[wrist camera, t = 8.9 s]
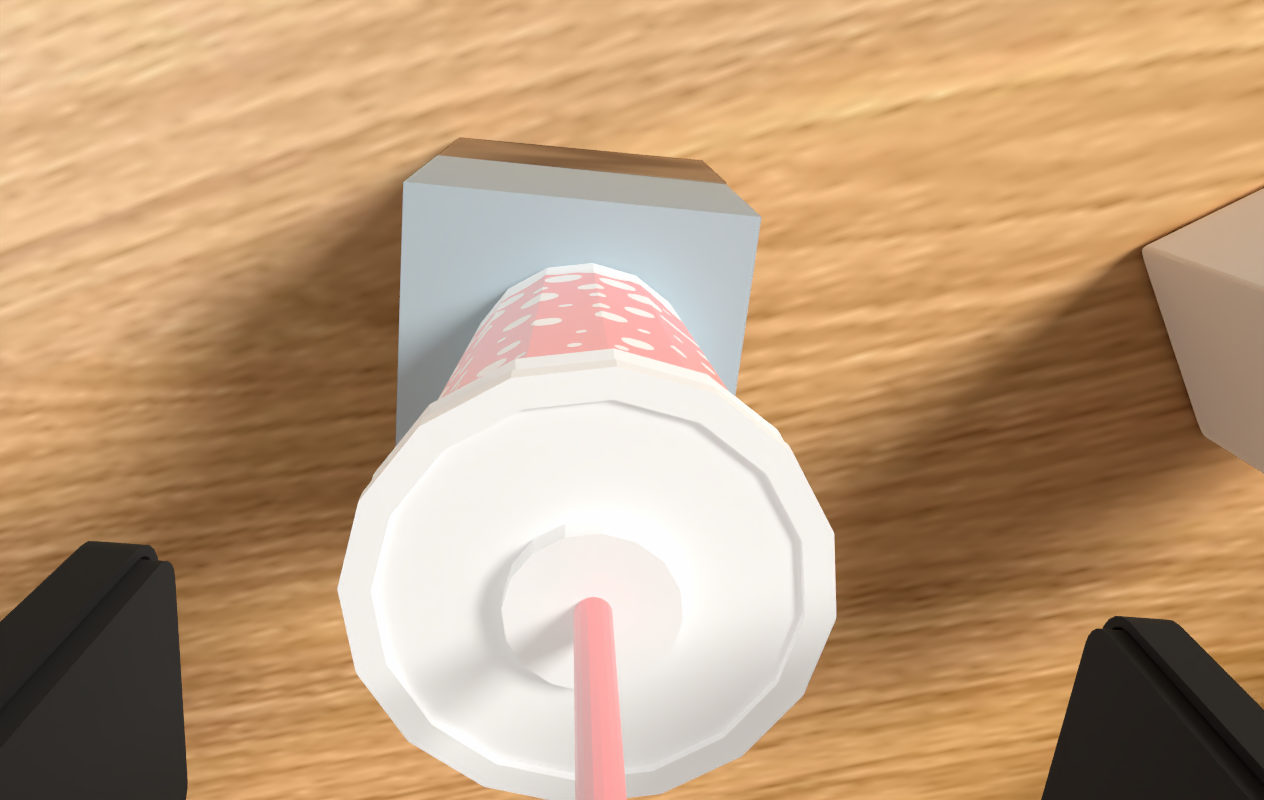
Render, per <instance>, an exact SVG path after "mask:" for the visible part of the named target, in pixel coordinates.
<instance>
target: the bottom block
mask: <svg viewBox="0 0 1264 800" xmlns="http://www.w3.org/2000/svg"><path fill="white" fill-rule="evenodd" d="M439 155H441V156H451V157H461V158H470V159H480V160H490V161H500V162H510V163H520V164H530V165H540V166H550V167H560V168H570V169H579V170H589V171H599V172H609V173H619V174H629V175H639V176H649V177H659V178H669V179H679V180H689V181H699V182H708V183H718V184H726V182H725V181H724V180H723V179H722V178H721V177H720V176H719V175H718V174H717V173H715V172H714V171H713V170H712V169H711V168H710V167H709V166H708V165H707V164H706V163H704V162H703V161H702V160H691V159H681V158H670V157H660V156H649V155H639V154H628V153H618V152H607V151H597V150H586V149H576V148H565V147H555V146H544V145H534V144H523V143H513V142H502V141H492V140H481V139H471V138H459V139H458V140H456V141H455V142H454V143H453V144H451V145H450V146H449V147H447V148H446V149H445V150H444V151H442V152H441V153H440V154H439Z"/></svg>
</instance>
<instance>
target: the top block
mask: <svg viewBox="0 0 1264 800" xmlns="http://www.w3.org/2000/svg"><path fill="white" fill-rule="evenodd" d="M760 223H761V216H760V215H759V214H758V213H756V212H755V211H754V210H753V209H752V208H751V207H750V206H749V205H748V204H747V203H746V202H745V201H744V200H742V199H741V198H740V197H739V196H738V195H737V194H736V193H735V192H734V191H733V190H732V189H731V188H729V187H728V186H727V185H726V184H718V183H708V182H699V181H689V180H679V179H669V178H659V177H649V176H639V175H629V174H619V173H609V172H599V171H589V170H579V169H570V168H560V167H550V166H540V165H530V164H520V163H510V162H500V161H490V160H480V159H470V158H461V157H451V156H441V155H437V156H436V157H435V158H433V159H432V160H431V161H429V162H428V163H427V164H426V165H424V166H423V167H422V168H420V169H419V170H418V171H417V172H415V173H414V174H413V175H411V176H410V177H409V178H408V179H406V180H405V181H404V182H403V210H402V243H401V277H400V311H399V345H398V379H397V412H396V446H397V444H398V443H399V442H400V441H401V439H402V438H403V437H404V436H405V434H406V433H407V432H408V431H409V429H410V428H411V427H412V426H413V425H414V423H415V422H416V421H417V420H418V418H419V417H420V416H421V415H422V413H423V412H424V411H425V410H426V408H427V407H428V406H429V405H430V404H431V403H433V402H435V401H437V400H438V399H439V397H440V395H441V393H442V392H443V390H444V388H445V386H446V384H447V383H448V381H449V379H450V377H451V376H452V374H453V372H454V370H455V368H456V367H457V365H458V363H459V361H460V360H461V358H462V356H463V354H464V352H465V351H466V349H467V347H468V345H469V343H470V342H471V340H472V338H473V336H474V335H475V333H476V331H477V329H478V327H479V326H480V324H481V322H482V321H483V320H484V319H485V317H486V316H487V315H488V314H489V312H490V311H491V310H492V309H493V307H494V306H495V305H496V304H497V302H498V301H499V300H500V299H501V297H502V296H503V295H504V294H505V292H506V291H507V290H508V289H509V288H511V287H513V286H515V285H516V284H518V283H520V282H522V281H524V280H526V279H527V278H529V277H531V276H533V275H535V274H537V273H539V272H540V271H542V270H544V269H546V268H549V267H559V266H568V265H578V264H588V263H594V264H598V265H601V266H605V267H608V268H611V269H615V270H618V271H622V272H625V273H629V274H632V275H636V276H637V277H638V278H639V279H641V280H642V281H643V282H644V283H645V284H647V285H648V286H649V287H650V288H652V289H653V290H654V291H655V292H657V293H658V294H659V295H660V296H662V297H663V298H664V299H665V300H667V301H668V302H669V303H670V304H671V306H672V307H673V309H674V310H675V312H676V313H677V315H678V316H679V318H680V319H681V321H682V322H683V324H684V325H685V327H686V328H687V330H688V331H689V333H690V334H691V336H692V337H693V339H694V340H695V342H696V343H697V345H698V346H699V348H700V349H701V351H702V352H703V354H704V355H705V357H706V358H707V360H708V361H709V363H710V364H711V366H712V367H713V369H714V370H715V372H716V373H717V375H718V376H719V378H720V379H721V381H722V382H723V384H724V385H725V387H726V388H727V390H728V391H729V392H730V393H731V394H733V395H734V396H735V393H736V386H737V380H738V373H739V366H740V359H741V352H742V346H743V339H744V332H745V325H746V318H747V311H748V305H749V298H750V291H751V284H752V277H753V271H754V264H755V257H756V250H757V243H758V237H759V230H760ZM396 446H395V447H396Z"/></svg>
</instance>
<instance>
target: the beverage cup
mask: <svg viewBox="0 0 1264 800" xmlns="http://www.w3.org/2000/svg"><path fill="white" fill-rule="evenodd" d="M337 590H338V594H339V599H340V603H341V608H342V612H343V617H344V621H345V626H346V630H347V635H348V639H349V644H350V648H351V652H352V657H353V661H354V666H355V670H356V673H357V675H358V676H359V677H360V679H361V680H362V681H363V683H364V684H365V685H366V687H367V688H368V689H369V691H370V692H371V693H372V694H373V696H374V697H375V698H376V700H377V701H378V702H379V704H380V705H381V706H382V708H383V709H384V710H385V712H386V713H387V714H388V716H389V717H390V718H391V719H392V721H393V722H394V723H395V725H396V726H397V727H398V729H399V730H400V731H401V733H402V734H403V735H404V737H405V738H406V739H407V740H408V742H410V743H412V744H413V745H415V746H417V747H418V748H420V749H422V750H423V751H425V752H427V753H428V754H430V755H432V756H433V757H435V758H437V759H438V760H440V761H442V762H443V763H445V764H447V765H448V766H450V767H452V768H453V769H455V770H457V771H458V772H460V773H462V774H464V775H465V776H467V777H469V778H470V779H472V780H474V781H475V782H477V783H479V784H480V785H482V786H484V787H488V788H493V789H498V790H503V791H508V792H513V793H518V794H523V795H528V796H533V797H537V798H542V799H547V800H627V798H631V797H639V796H648V795H656V794H662V793H664V792H666V791H669V790H671V789H673V788H675V787H677V786H679V785H681V784H684V783H686V782H688V781H690V780H692V779H694V778H696V777H699V776H701V775H703V774H705V773H707V772H709V771H711V770H714V769H716V768H718V767H720V766H722V765H724V764H726V763H729V762H731V761H733V760H735V759H737V758H739V757H741V756H743V755H744V754H745V753H746V752H747V751H748V750H749V749H750V748H751V747H752V746H753V745H754V744H755V743H756V742H757V741H758V740H759V739H760V738H761V737H762V736H763V735H764V734H765V733H766V732H767V731H768V730H769V729H770V728H771V727H772V726H773V725H774V724H775V723H776V722H777V721H778V720H779V719H780V718H781V717H782V716H783V715H784V714H785V713H786V712H787V711H788V710H789V709H790V708H791V707H792V706H793V705H794V704H795V703H796V702H797V701H798V700H799V699H800V698H801V697H802V696H803V695H804V692H805V690H806V688H807V685H808V683H809V681H810V678H811V676H812V674H813V671H814V669H815V667H816V664H817V662H818V660H819V657H820V655H821V653H822V650H823V648H824V646H825V643H826V641H827V639H828V636H829V634H830V632H831V629H832V627H833V625H834V622H835V620H836V583H835V543H834V532H833V530H832V528H831V526H830V524H829V522H828V520H827V518H826V516H825V514H824V512H823V510H822V508H821V507H820V505H819V503H818V501H817V499H816V497H815V495H814V493H813V491H812V489H811V487H810V485H809V483H808V481H807V479H806V477H805V475H804V473H803V471H802V469H801V468H800V466H799V464H798V462H797V460H796V458H795V456H794V454H793V452H792V450H791V448H790V447H789V445H788V444H787V443H786V442H784V441H783V439H782V437H781V435H780V433H779V431H778V430H777V429H776V428H774V427H773V426H772V425H771V424H769V423H768V422H767V421H766V420H764V419H763V418H762V417H761V416H759V415H758V414H757V413H755V412H754V411H753V410H752V409H750V408H749V407H748V406H747V405H745V404H744V403H743V402H742V401H740V400H739V399H738V398H736V397H735V396H734V395H733V394H731V393H730V392H729V391H728V390H727V388H726V387H725V385H724V384H723V382H722V381H721V379H720V378H719V376H718V375H717V373H716V372H715V370H714V369H713V367H712V366H711V364H710V363H709V361H708V360H707V358H706V357H705V355H704V354H703V352H702V351H701V349H700V348H699V346H698V345H697V343H696V342H695V340H694V339H693V337H692V336H691V334H690V333H689V331H688V330H687V328H686V327H685V325H684V324H683V322H682V321H681V319H680V318H679V316H678V315H677V313H676V312H675V310H674V309H673V307H672V306H671V304H670V303H669V302H668V301H667V300H665V299H664V298H663V297H662V296H660V295H659V294H658V293H657V292H655V291H654V290H653V289H652V288H650V287H649V286H648V285H647V284H645V283H644V282H643V281H642V280H641V279H639V278H638V277H637V276H636V275H632V274H629V273H625V272H622V271H618V270H615V269H611V268H608V267H605V266H601V265H598V264H594V263H588V264H578V265H568V266H559V267H549V268H546V269H544V270H542V271H540V272H539V273H537V274H535V275H533V276H531V277H529V278H527V279H526V280H524V281H522V282H520V283H518V284H516V285H515V286H513V287H511V288H509V289H508V290H507V291H506V292H505V294H504V295H503V296H502V297H501V299H500V300H499V301H498V302H497V304H496V305H495V306H494V307H493V309H492V310H491V311H490V312H489V314H488V315H487V316H486V317H485V319H484V320H483V321H482V322H481V324H480V326H479V327H478V329H477V331H476V333H475V335H474V336H473V338H472V340H471V342H470V343H469V345H468V347H467V349H466V351H465V352H464V354H463V356H462V358H461V360H460V361H459V363H458V365H457V367H456V368H455V370H454V372H453V374H452V376H451V377H450V379H449V381H448V383H447V384H446V386H445V388H444V390H443V392H442V393H441V395H440V397H439V399H438V400H437V401H435V402H433V403H431V404H430V405H429V406H428V407H427V408H426V410H425V411H424V412H423V413H422V415H421V416H420V417H419V418H418V420H417V421H416V422H415V423H414V425H413V426H412V427H411V428H410V429H409V431H408V432H407V433H406V434H405V436H404V437H403V438H402V439H401V441H400V442H399V443H398V444H397V446H396V447H395V448H394V449H393V451H392V452H391V453H390V454H389V456H388V457H387V458H386V459H385V461H384V462H383V463H382V464H381V466H380V467H379V468H378V469H377V471H376V472H375V473H374V474H373V477H372V481H371V482H370V483H369V485H368V486H367V487H366V488H365V490H364V491H363V492H362V495H361V497H360V499H359V501H358V505H357V509H356V513H355V518H354V522H353V526H352V530H351V534H350V538H349V542H348V547H347V551H346V555H345V559H344V563H343V567H342V572H341V576H340V580H339V584H338V588H337Z"/></svg>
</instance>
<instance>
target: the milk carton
mask: <svg viewBox="0 0 1264 800" xmlns="http://www.w3.org/2000/svg"><path fill="white" fill-rule="evenodd" d="M1142 255H1143V259H1144V262H1145V265H1146V268H1147V271H1148V275H1149V278H1150V281H1151V284H1152V287H1153V290H1154V293H1155V296H1156V299H1157V302H1158V305H1159V308H1160V311H1161V314H1162V317H1163V320H1164V323H1165V326H1166V329H1167V332H1168V335H1169V338H1170V341H1171V344H1172V347H1173V350H1174V353H1175V356H1176V359H1177V362H1178V365H1179V368H1180V371H1181V374H1182V377H1183V380H1184V383H1185V386H1186V389H1187V392H1188V395H1189V398H1190V401H1191V404H1192V407H1193V410H1194V413H1195V416H1196V419H1197V422H1198V424H1199V427H1200V430H1201V432H1202V434H1203V435H1204V436H1205V437H1206V438H1208V439H1209V440H1211V441H1213V442H1214V443H1216V444H1217V445H1219V446H1221V447H1222V448H1224V449H1225V450H1227V451H1229V452H1230V453H1232V454H1233V455H1235V456H1237V457H1238V458H1240V459H1241V460H1243V461H1245V462H1246V463H1248V464H1249V465H1251V466H1253V467H1254V468H1256V469H1257V470H1259V471H1261V472H1262V473H1264V188H1263V189H1261V190H1259V191H1257V192H1255V193H1253V194H1251V195H1249V196H1246V197H1244V198H1242V199H1240V200H1238V201H1236V202H1234V203H1232V204H1230V205H1228V206H1226V207H1224V208H1222V209H1220V210H1218V211H1216V212H1214V213H1212V214H1210V215H1208V216H1206V217H1204V218H1201V219H1199V220H1197V221H1195V222H1193V223H1191V224H1189V225H1187V226H1185V227H1183V228H1181V229H1179V230H1177V231H1175V232H1173V233H1171V234H1169V235H1167V236H1165V237H1163V238H1161V239H1159V240H1156V241H1154V242H1152V243H1150V244H1148V245H1146V246H1145V247H1144V248H1143V249H1142Z"/></svg>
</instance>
